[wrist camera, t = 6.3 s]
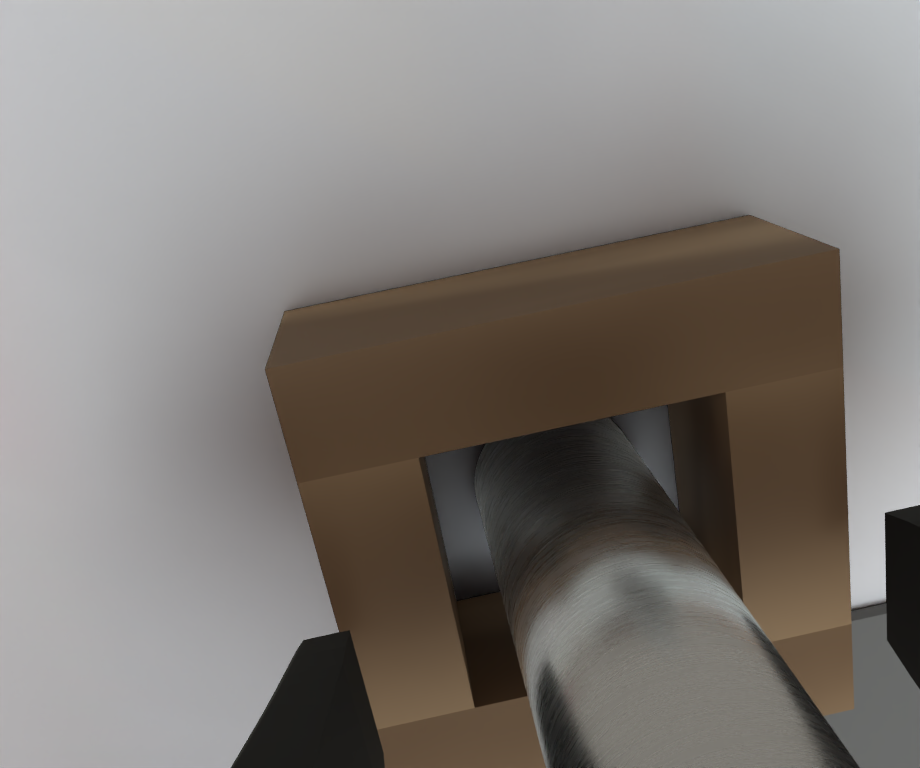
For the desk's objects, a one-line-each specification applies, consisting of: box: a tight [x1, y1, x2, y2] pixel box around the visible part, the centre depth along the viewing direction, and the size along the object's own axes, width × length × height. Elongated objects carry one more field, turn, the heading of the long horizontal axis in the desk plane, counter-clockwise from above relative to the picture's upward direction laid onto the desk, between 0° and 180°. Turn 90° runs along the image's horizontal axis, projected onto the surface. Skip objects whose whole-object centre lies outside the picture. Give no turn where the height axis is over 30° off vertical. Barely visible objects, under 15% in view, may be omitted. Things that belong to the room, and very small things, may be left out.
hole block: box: [265, 215, 854, 768], centre depth 15 cm, size 8×8×3 cm
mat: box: [824, 603, 920, 768], centre depth 19 cm, size 7×8×1 cm
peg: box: [474, 417, 860, 768], centre depth 12 cm, size 3×3×9 cm
